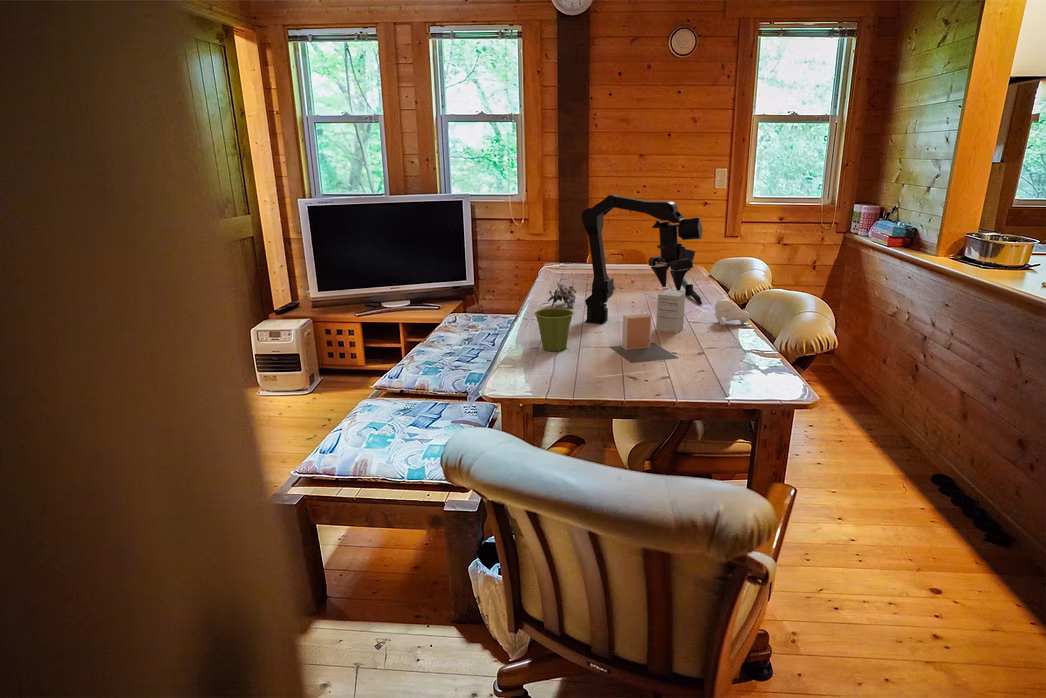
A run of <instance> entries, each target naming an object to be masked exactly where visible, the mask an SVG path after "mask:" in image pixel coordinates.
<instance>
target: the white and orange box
mask: <svg viewBox="0 0 1046 698" xmlns="http://www.w3.org/2000/svg"><path fill="white" fill-rule="evenodd" d="M651 330H652V314H649V313H638V314H627V315H626V314H625V315H623V317H622V336H621V337H622V338H621V346H622V348H624V349H625V350H629V349H639V348H649V347H650V343H651V335H652V333H651V332H652V331H651Z"/></svg>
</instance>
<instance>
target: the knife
mask: <svg viewBox="0 0 1046 698" xmlns="http://www.w3.org/2000/svg"><path fill="white" fill-rule="evenodd" d="M681 287H683V289H684V292H685V296H691V298H692V299H693V300H694V301H695V300H696V301H697V302H696V303H697V304H698V305H701V306H702V305H703V301H702V299H701V296H700V295H699V294H698V293H697V292H696V291H695V290H694V285H693V283H692V284H689V283H688V281H687V280H686V279H685V277H684V278H683V282H682V286H681Z"/></svg>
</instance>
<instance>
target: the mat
mask: <svg viewBox="0 0 1046 698" xmlns="http://www.w3.org/2000/svg"><path fill="white" fill-rule="evenodd" d="M609 349H611V350H613V351H614V352H615V353H616V354H618V355H619V356H621V357H622V358H623V359H625V360H626V361H627V362H629V363H630V364H637V363H644V362H646V363H647V362H656V361H665V360H666V361H668V360H676V359H679V357H678V356H677V355H675V354H673V353H672V352H670V351H669V350H667V349H665V348H664V347H662V346H660V345H658V344H657V343H655V342H650V347H649V348H639V349H629V350H625V349H624V348H622V345H614V346H613V345H612V346H609Z"/></svg>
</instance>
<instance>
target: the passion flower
mask: <svg viewBox="0 0 1046 698" xmlns="http://www.w3.org/2000/svg"><path fill="white" fill-rule="evenodd" d="M556 284H557V287H558V288H559V290H558V289H557V288H556V289H554V290H555V291H554V292H553V294H552V290H549V291H548V293H549V294H550V297H549V298H548V300H547V302H550V301H551V300H552V303H551V304H552V305H551V308H554V306H555V305H554V304H556V303H557V302H558V301H560V302H562V301H563V302H564V305H566V306H567V307H568V308H570V309H574V308H575V307H574V304H575V303H576V298H577V296H576V294H577V290H576V289H575V288H574V285H569V286H567V285H564V284H563V283H559V282H556Z"/></svg>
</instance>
